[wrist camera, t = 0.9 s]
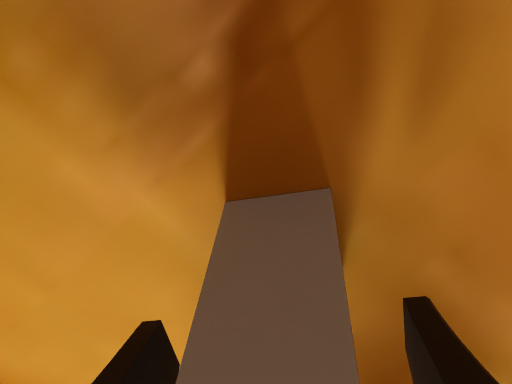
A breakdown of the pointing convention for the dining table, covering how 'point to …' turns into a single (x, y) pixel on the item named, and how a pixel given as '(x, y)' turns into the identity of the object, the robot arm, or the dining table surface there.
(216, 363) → the slate peg
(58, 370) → the dining table surface
